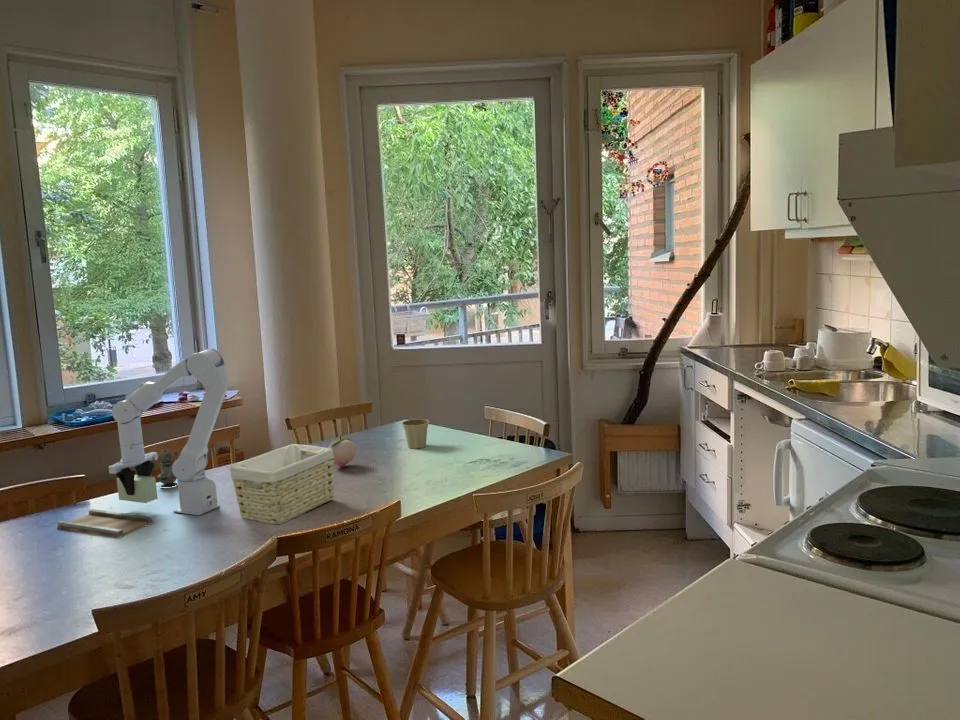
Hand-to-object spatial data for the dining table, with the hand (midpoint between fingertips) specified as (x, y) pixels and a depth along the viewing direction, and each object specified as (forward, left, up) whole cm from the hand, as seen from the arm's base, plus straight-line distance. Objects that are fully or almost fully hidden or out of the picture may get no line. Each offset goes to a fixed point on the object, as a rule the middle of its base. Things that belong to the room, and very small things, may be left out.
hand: (137, 492), depth 211 cm
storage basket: (-39, -14, -6) cm, 42 cm away
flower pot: (-42, -80, -6) cm, 91 cm away
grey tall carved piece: (+10, -20, -6) cm, 23 cm away
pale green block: (0, 0, -2) cm, 2 cm away
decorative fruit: (-31, -52, -6) cm, 61 cm away
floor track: (0, +11, -6) cm, 12 cm away
